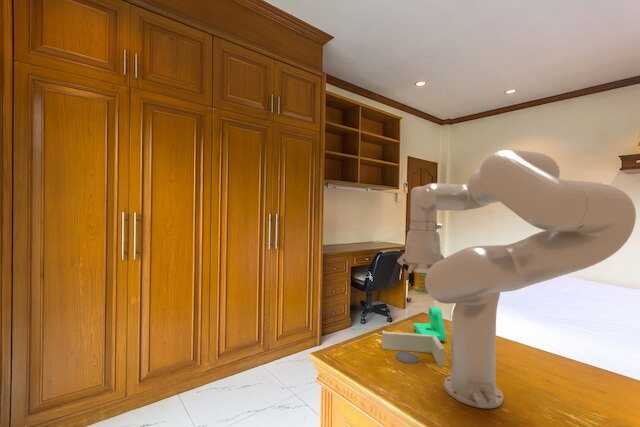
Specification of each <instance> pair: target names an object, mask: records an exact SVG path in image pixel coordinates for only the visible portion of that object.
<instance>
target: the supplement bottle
mask: <svg viewBox="0 0 640 427" xmlns="http://www.w3.org/2000/svg"><path fill="white" fill-rule="evenodd" d="M415 265H416V266H415V267H413V286H412V288H413V289H412V291H413V293H415V294H418V295H423V296H424V295H425V296H426V295H427V296H428V295H429V293H428V292H427V289H426V286H425V277H426V274H427V272H428V270H429V268H430V267H431V265H425V264H415Z"/></svg>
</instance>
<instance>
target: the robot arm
mask: <svg viewBox="0 0 640 427" xmlns="http://www.w3.org/2000/svg"><path fill="white" fill-rule="evenodd" d="M560 175H561V174H560V167H559V165H558V163H557V162H556V161H555V160H554V158H552V157H551V156H549V155H547V154H545V153H540V152H536V151H528V150H519V149H509V148H508V149H502V150H501V149H500V150H498V151H495V152H493V153H492V154H490V155H488V156H487V157H486V158H485V160H483V162H482V163H481V165H480V168H477V169H475V170H474V171H473V172H472V173H471V174H470V176H469V177H468V182H467V183H465V184H464V183H463V184H453V183H439V182H438V183H437V182H435V183H434V182H433V183H432V182H431V183H428V184H426V185H423V186H415V187H413V188H412V189H411V191H410V224H409V225H410V226H409V229H410V230H409V231H407V235H406V243H405V252H404V253H402V254H401V255H400V257H398V258H397V260H396V261H397V263H398V264H399V265H401V266H402V268H403V269H404V270H405V271H406V272H407V273H408V277H407V278H408V279H407V281H408V282H407V283H408V284H410V287H412V288H413V271H414V268H415V267H414V266H415V265H416V264H425V265H430V266H429V270H428V272H427V274H426V277H425V286H426V289H427V292H428V293H429V294H428V295H429V296H430V297H431V298H432V299H433V300H435V301H436V302H438V303H440V304H444V305H445V304H447V305H449V304H454V307H453V309H452V314H451V338H450V339H451V342H450V344H451V350H450V351H451V352H450V353H451V355H450V356H451V358H450V359H451V360H450V363H451V364H450V365H451V366H450V368H451V369H450V374H451V375H449V376H447V377H446V378H445V379H444V381H443V386H444V390H445V391H446V393H447V394H448V395H449V396H450V397H452V398H453V399H455V400H456V401H457V402H460V403H462V404H465V405H468V406H469V407H474V408H479V409H494V408H495V409H496V408H498V407H501V406H502V404H503V402H504V394H503V392H502V390H500V388H499V387H497V386H496V375H497V374H496V365H497V364H496V363H497V360H496V359H497V358H496V356H497V354H496V353H497V352H496V351H497V350H496V349H497V348H496V342H497V336H496V335H497V313H498V312H497V310H498V305H499V299H500V295H501V293H504V292H506V293H507V292H513V291H515V292H516V291H517V290H521V289H524V288H527V287H529V286H532V285H537V284H540V283H543V282H546V281H550V280H552V279H556V278H559V277H562V276H565V275H568V274H571V273H575V272H578V271H581V270H584V269H587V268H590V267H593V266H595V265H597V264H599V263H601V262H604V261H605V260H607V259H608V258H610V257H612V256H613V255H615V254H616V253H617V252H618V251H620V250H621V249H622V248H623V246H624V245H626V243H627V242H628V240H629V239H630V237H631V235H632V233H633V232H634V228H635V224H636V220H637V219H636V218H637V213H636V207H635V204H634V202H633V200H632V198H631V197H630V196H629V195H628V194H627V193H626V192H624V191H622V190H621V189H620V188H618V187H615V186H612V185H609V184H605V183H601V182H595V181H594V182H593V181H583V180H570V179H569V180H568V179H561V178H560ZM493 203H501V204H502V205H503V206H505V207H506V208H508V209H509V210H510V211H511V212H513V213H514V214H515V215H517V216H518V217H519V218H521V219H522V220H523V221H525V222H527V223H528V224H529V225H531V226H533V227H534V228H537V229H540V230H543V231H541V232H537V233H535V234H532V235H530V236H527V237H526V238H523V239H521V240H518V241H516V242H513V243H509V244H500V245H497V244H496V245H476V246H469V247H466V248H463V249H460V250H459V251H457V252H454V253H453V254H451V255H450V254H449V255H448V256H446V257H445V256H444V255H443V254H442V251H441V250H442V249H441V238H440V237H441V236H440V232H439V231H437V230H439V229H442V225H443V224H442V223H438V222H437V215H438V214H437V211H450V212H451V211H453V212H454V211H455V212H460V211H469V210H475V209H480V208H484V207H486V206H488V205H490V204H493ZM404 260H405V261H404ZM407 263H408V264H409V265H408V264H407Z"/></svg>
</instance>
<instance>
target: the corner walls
mask: <svg viewBox="0 0 640 427" xmlns="http://www.w3.org/2000/svg"><path fill="white" fill-rule="evenodd" d="M381 349H382V350H393V351H394V350H395V351H402V352H415V353H416V352H417V353H429V354H430V353H431V355H433V358H434V359H435V361H436V364H437V365H438V367H443V368H444V367H445V365H446V364H445V362H446V361H445V360H446V359H445V351H446V350H445V347H444V346H443V344H442V343H441V340H439V339H438V338H437V336H435V335H425V334H416V333H411V332H410V333H408V332H394V331H383V330H382V333H381Z"/></svg>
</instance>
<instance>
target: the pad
mask: <svg viewBox="0 0 640 427" xmlns="http://www.w3.org/2000/svg"><path fill="white" fill-rule="evenodd" d="M394 358H395V359H396V360H397V361H399V362H401V363H404V364H411V365H412V364H417V363H419V362H420V357H419V355H417V354H415V353H412V352H411V351H398V352H396V353H395V354H394Z"/></svg>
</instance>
